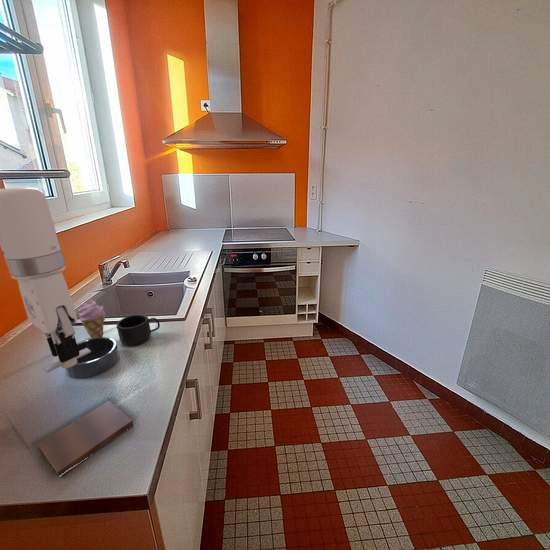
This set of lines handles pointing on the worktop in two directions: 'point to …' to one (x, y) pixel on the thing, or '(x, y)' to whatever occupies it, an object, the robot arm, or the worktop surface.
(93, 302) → the ice cream cone
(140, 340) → the mug
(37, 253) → the robot arm
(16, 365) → the worktop surface
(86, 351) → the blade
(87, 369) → the round grey bowl
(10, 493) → the worktop surface
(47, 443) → the cutting board
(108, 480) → the worktop surface
